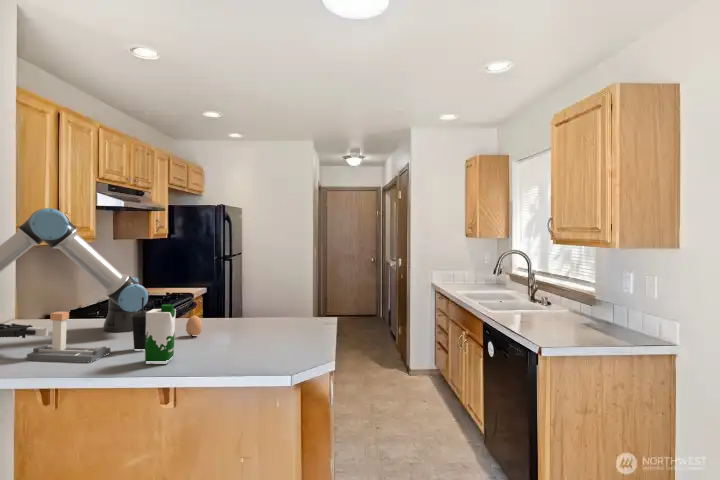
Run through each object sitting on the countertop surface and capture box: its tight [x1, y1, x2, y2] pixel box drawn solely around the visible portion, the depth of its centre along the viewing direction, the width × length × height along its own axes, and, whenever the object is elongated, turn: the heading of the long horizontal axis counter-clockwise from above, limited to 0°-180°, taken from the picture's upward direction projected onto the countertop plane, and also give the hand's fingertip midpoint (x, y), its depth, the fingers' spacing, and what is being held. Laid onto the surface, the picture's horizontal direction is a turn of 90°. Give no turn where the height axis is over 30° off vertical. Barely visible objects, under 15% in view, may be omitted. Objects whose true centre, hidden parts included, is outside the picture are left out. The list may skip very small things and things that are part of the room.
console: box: [26, 343, 111, 363], centre depth 166 cm, size 22×12×3 cm, turn 90°
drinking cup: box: [131, 297, 149, 350], centre depth 178 cm, size 8×8×20 cm
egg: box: [185, 315, 203, 336], centre depth 202 cm, size 7×7×9 cm
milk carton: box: [144, 303, 177, 362], centre depth 163 cm, size 9×9×20 cm
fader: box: [49, 311, 70, 350], centre depth 165 cm, size 4×4×13 cm
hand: (46, 332), depth 165 cm, fingers closed
